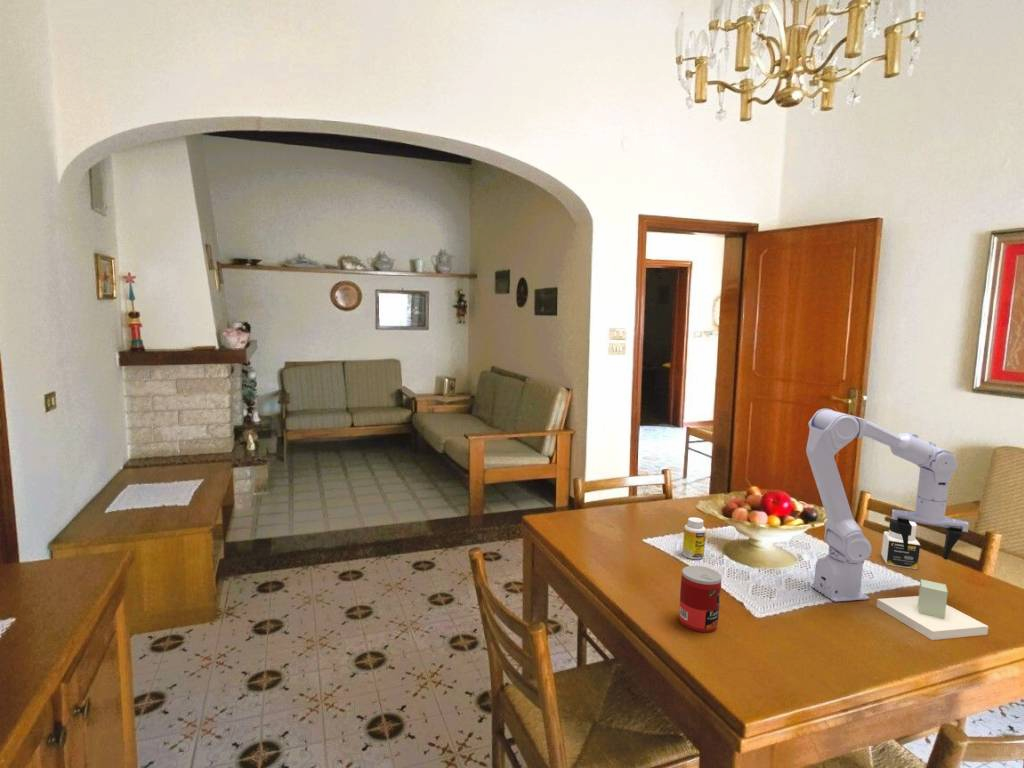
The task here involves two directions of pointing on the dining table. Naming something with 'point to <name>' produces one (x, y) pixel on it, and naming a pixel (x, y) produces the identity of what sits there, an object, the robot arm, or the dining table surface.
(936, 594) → the sage block
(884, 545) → the medicine bottle
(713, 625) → the canned food
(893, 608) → the cream slab
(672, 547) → the dining table surface
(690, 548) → the supplement bottle
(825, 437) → the robot arm
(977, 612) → the dining table surface
